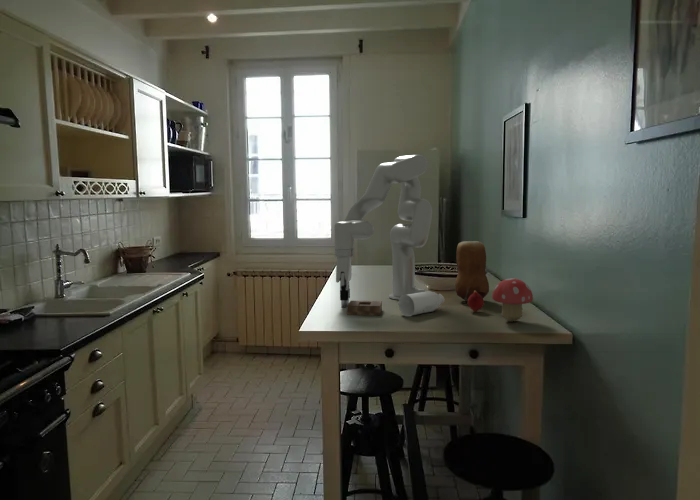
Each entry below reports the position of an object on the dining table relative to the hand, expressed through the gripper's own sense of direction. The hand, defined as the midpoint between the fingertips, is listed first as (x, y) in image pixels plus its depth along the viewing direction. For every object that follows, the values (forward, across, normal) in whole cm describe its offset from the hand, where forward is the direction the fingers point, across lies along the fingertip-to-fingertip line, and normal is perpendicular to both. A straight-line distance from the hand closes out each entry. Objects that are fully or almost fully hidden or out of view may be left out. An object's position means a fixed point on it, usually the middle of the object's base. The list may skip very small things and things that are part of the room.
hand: (345, 298), depth 206 cm
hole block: (+3, +9, +9) cm, 13 cm away
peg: (+3, 0, 0) cm, 3 cm away
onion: (+3, +4, +50) cm, 50 cm away
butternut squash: (+3, -15, +50) cm, 52 cm away
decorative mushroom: (+3, +18, +61) cm, 64 cm away
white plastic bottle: (+4, +7, +30) cm, 31 cm away
